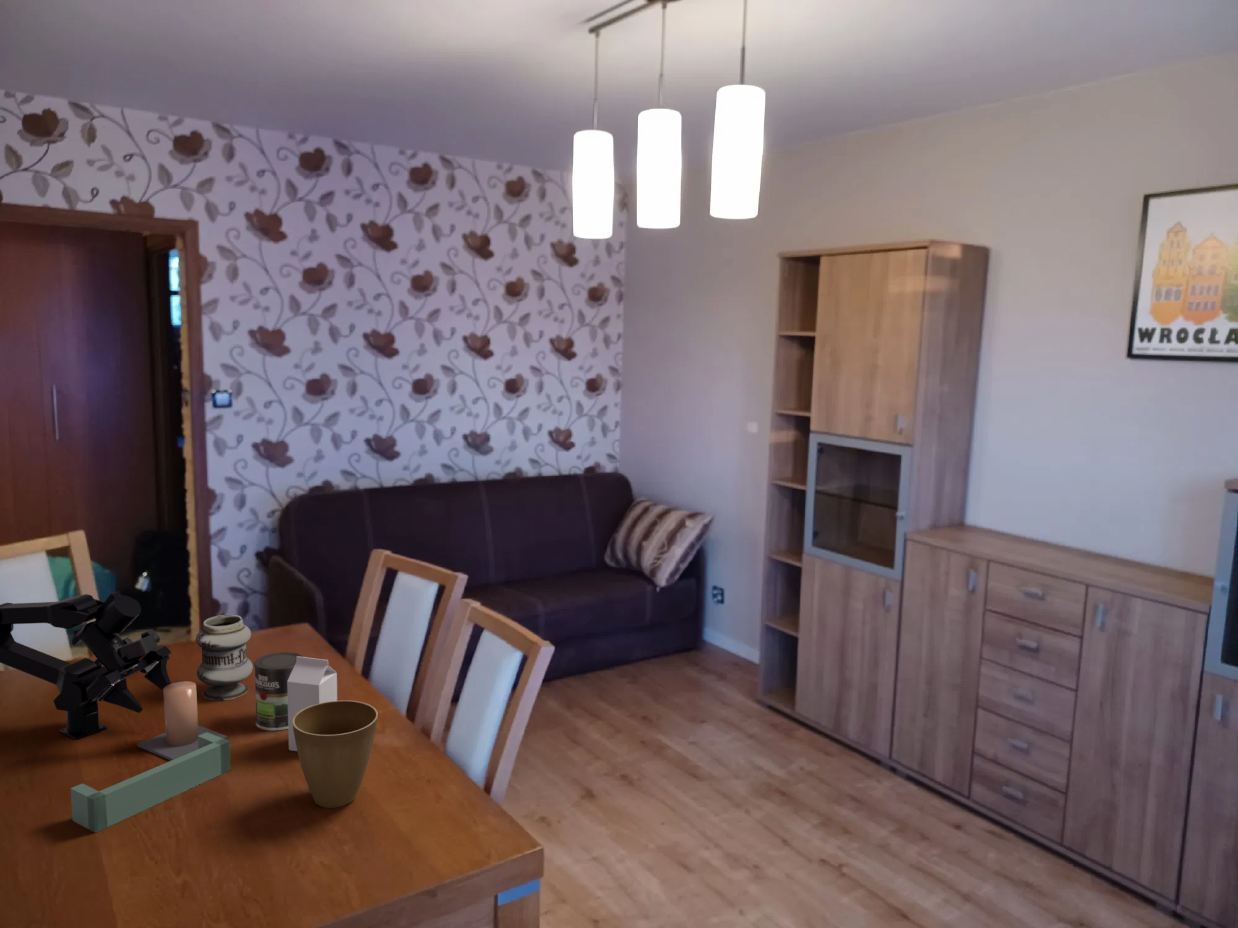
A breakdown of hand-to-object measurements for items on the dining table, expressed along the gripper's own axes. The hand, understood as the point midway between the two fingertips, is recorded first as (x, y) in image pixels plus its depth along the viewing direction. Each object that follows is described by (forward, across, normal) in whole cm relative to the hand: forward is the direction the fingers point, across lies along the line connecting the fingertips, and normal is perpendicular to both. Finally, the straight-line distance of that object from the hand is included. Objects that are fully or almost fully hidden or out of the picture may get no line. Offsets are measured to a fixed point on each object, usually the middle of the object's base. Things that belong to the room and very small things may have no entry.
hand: (157, 702), depth 179 cm
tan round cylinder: (+9, 0, +1) cm, 9 cm away
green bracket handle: (+16, -19, -4) cm, 25 cm away
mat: (+10, 0, +2) cm, 10 cm away
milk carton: (+28, +5, -17) cm, 34 cm away
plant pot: (+39, -13, -27) cm, 49 cm away
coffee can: (+20, +14, -8) cm, 25 cm away
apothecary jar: (+5, +25, +7) cm, 26 cm away
